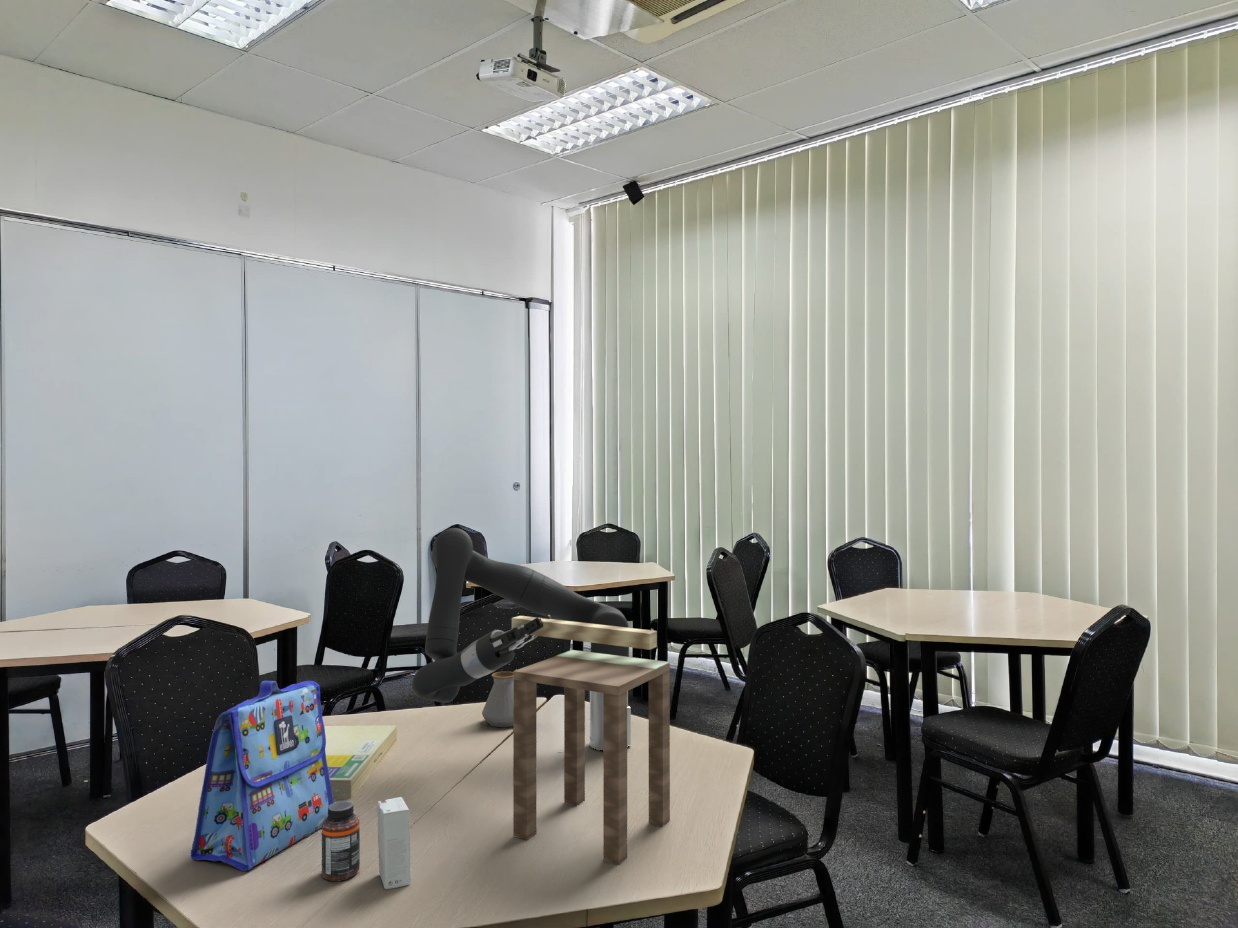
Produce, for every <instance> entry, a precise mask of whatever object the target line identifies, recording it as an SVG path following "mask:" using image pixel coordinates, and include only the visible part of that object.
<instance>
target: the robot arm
mask: <svg viewBox="0 0 1238 928" xmlns="http://www.w3.org/2000/svg"><path fill="white" fill-rule="evenodd" d="M431 561H432V563H433V565H434V567H435V568H436V579H435V587H434V593H433V597H432V602H431V607H430V612H429V616H428V621H427V622H428V623H427V630H426V637H425V644H424V653H425V654H426V656H428V657H429V658H430V659H432V660H434V661H431V662H429V663H426V664H424V665H423V666H422V667H420V668H419V669H418V670H417V671H416V672H415V674H414V676H413V677H412V680H411V681H412V682H411V689H412V691H413V694H415V696H416V697H418V698H421V699H423V700H428V701H433V702H438V703H443V704H445V703H446V704H447V703H451V702H452V701H454V699H455V698H456V697H457V696H458V693H459V691H460V689H461V687H464V686H465V687H466V686H467V685H469V684H472V683H474V682H475V681H477V680H478V679H480V678H483V677H485V676H487V675H489V674H491V673H492V674H493V673H495V671H497V670H498V669H500V668H503V667H504V666H506V665H507V664H509V663H511V662H512V661H513V660H514V659H515V655H516V652H515V651H516V650H517V649H520V648H522V647H524V646H525V644H527V643H529V642H531V641H534V640H535V639H536V638H538V637H539V636H536V635H529V634H532V633H534V632H535V631H537V630H539V629H541V628H542V627H543V623H542V620H541V618H545V619H554V620H563V621H572V622H581V623H590V624H599V625H608V626H617V627H626V628H630V627H629V622H628V620H627V618H626V617H625V615H624V614H623V613H622V611H621V610H620V609H618V608H616V607H614V606H610V605H609V604H604V603H602V602H599V601H596V600H593V599H590V598H588V597H585V596H583V595H581V594H578V593H577V592H575V591H573V590H572V589H570V588H569V587H567V586H565V585H564V584H562V583H560V582H558V581H557V580H555V579H552V578H551V577H549V576H547V575H545V574H543V573H541V572H538V571H537V570H534V569H533V568H531V567H528V566H524V565H520V564H515V563H509V562H502V561H498V560H494V559H491V558H489V557H487V556H484V555H483V554H481V553H479V552H477V551H475V550H474V545H473V541H472V538H471V536H470V535H469V534H468V532H466V531H465V530H463V529H462V528H459V527H451V528H446V529H444V530H443V531H441V532H440V534H439V535H438V536H437V537H436V538H435V540H434V543H433V546H432V550H431ZM464 582H468V583H471V584H473V585H477V586H479V587H481V588H483V589H485V590H487V591H489V592H490V593H493V594H494V595H496V596H499V597H500V598H503V599H505V600H507V601H508V602H510V603H512V604H515V605H516V606H519V607H521V608H522V609H525V610H528V611H529V612H532V613H534V614H536V615H541V616H542V617H539V616H538V617H536V618H535V619H534V620H532V621H530V622H529V623H527V624H524V625H521V626H520V627H514V628H512V627H511V629H509V630H507V631H503V630H500V629H493V630H491V631H490V632H489V633H486V634H485V635H483V636H481V637H480V638H478V639H477V640H475V641H472V643H470V644H469V645H468V646H467V647H465V648H464V649H462V650H461V651H459V652H458V651H457V648H458V638H459V631H460V629H459V628H460V621H461V620H460V617H461V607H462V606H461V605H462V604H461V603H462V593H463V588H464ZM590 652H593V653H601V654H609V655H617V656H625V657H630V647H624V646H616V645H608V644H600V643H592V642H590ZM628 692H629V691H627V746H628V745H632V744H631V743H632V742H631V741H632V737H631V736H632V734H631V732H632V728H631V727H632V726H631V725H632V721H631V719H632V718H631V717H632V716H631V715H632V712H631V711H632V710H631V709H632V708H631V706H630V705H629V703H628V702H629V699H628V698H629V693H628ZM589 746H590V748H592V749H593V748H594V749H593V750H595V749H596V751H600V750H603V693H600V692H593V691H589Z"/></svg>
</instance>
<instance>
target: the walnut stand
mask: <svg viewBox="0 0 1238 928" xmlns="http://www.w3.org/2000/svg"><path fill="white" fill-rule="evenodd" d="M670 666H671V665H670V661H664V660H656V659H648V658H639V657H630V656H629V657H625V656H617V655H609V654H601V653H593V652H591V651H584V650H574V649H570V650H567V651H565V652H562V653H559V654H557V655H555V656H553V657H549V658H547V659H544V660H541V661H537V662H536V663H535V662H534V663H533V664H529V665H526V666H524V667H521V668H519V669H515V670H513V672H514V705H513V726H512V727H513V738H512V739H513V744H512V745H513V746H512V747H513V748H512V750H513V755H512V756H513V762H512V765H513V768H512V769H513V770H512V771H513V775H512V777H513V779H512V781H513V786H512V787H513V792H512V793H513V801H512V802H513V805H512V806H513V807H512V808H513V811H512V812H513V815H512V817H513V818H512V820H513V823H512V824H513V825H512V827H513V833H512V834H513V836H512V837H514V838H518V839H522V840H525V841H528V840H529V839H530V838H532V837H534V836H536V835H537V695H538V694H537V693H538V692H537V691H538V690H537V684H542V685H547V686H555V687H562V688H563V689H564V690H563V692H564V693H563V694H564V695H563V696H564V699H563V701H564V707H563V710H564V712H563V714H564V715H563V717H564V720H563V726H564V728H563V729H564V730H563V731H564V734H563V740H564V741H563V742H564V744H563V745H564V746H563V747H564V749H563V753H564V755H563V758H564V759H563V761H564V762H563V763H564V765H563V768H564V771H563V772H564V773H563V775H564V776H563V786H564V787H563V789H564V790H563V794H564V795H563V799H564V800H563V801H564V802H563V803H564V804H566V803H567V805H572V806H575V807H577V805H578V806H579V805H581V804H582V803H583V801H584V802H585V801H586V691H588V692H590V691H593V692H600V693H603V751H602V752H603V759H602V760H603V777H602V778H603V792H602V793H603V796H602V797H603V804H602V805H603V807H602V808H603V810H602V811H603V814H602V817H603V829H602V830H603V835H602V836H603V846H602V847H603V852H602V853H603V862H606V863H611V864H615V865H620V864H621V863H623V862H624V861H625V860H626V859H627V858H628V747H627V691H628V692H629V691H630V690H633V689H634V688H636V687H639V686H640V685H642V684H644V683H647V682H648V823H649V824H651V823H652V825H656V826H659V827H664V826H665V825H666V824H667V823H669V822H670V821H671V807H670V806H671V790H670V789H671V783H670V782H671V763H670V761H671V752H670V751H671V741H670V740H671V736H670V735H671V734H670V733H671V732H670V731H671V728H670V727H671V726H670V725H671V722H670V720H671V719H670V718H671V717H670V715H671V712H670V711H671V708H670V707H671V705H670V703H671V702H670V701H671V698H670V697H671V692H670V691H671V688H670V687H671V686H670V685H671V684H670V683H671V681H670V677H671V675H670V674H671V668H670ZM580 803H581V804H580ZM669 820H670V821H669Z"/></svg>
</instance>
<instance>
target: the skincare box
mask: <svg viewBox="0 0 1238 928" xmlns="http://www.w3.org/2000/svg"><path fill="white" fill-rule="evenodd" d="M377 836H378V838H377V839H378V843H377V844H378V872H379V873H378V874H379V876H380V879H381V882H382V884H383V888H384V889H385V890H391V889H396V888H401V887H405V886H408V885H411V880H412V879H411V847H410V846H411V843H410V809H409V807H408V805H407V804H406V801H404V798H403V796H399V797H393V798H389V799H383V800H379V801H377Z"/></svg>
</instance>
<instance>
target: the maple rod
mask: <svg viewBox="0 0 1238 928" xmlns="http://www.w3.org/2000/svg"><path fill="white" fill-rule="evenodd" d="M535 618H537V617H533V616H528V615H527V616H525V615H517V616H514V617H511V629H512V628H514V627H520V626H521V625H524V624H527V623H529V622H530V621H532V620H534V619H535ZM540 618H541V620H542V623H543V627H542V628H541V629H539V630H537V631H535V632H534V633H532V634H529V635H536V636H538V637H543V638H544V637H545V638H552V639H560V640H570V641H577V642H586V643H591V642H592V643H600V644H608V645H616V646H624V647H629V648H633V649H640V650H641V649H643V650H648V651H649V650H650V651H651V650H653V649H655V648H657V647H658V639H657V638H658V635H657V633H658V631H657V630H652V629H643V628H642V629H641V628H633V627H629V628H626V627H617V626H608V625H599V624H590V623H581V622H572V621H563V620H559V619H555V618H552V619H545V618H542V617H540Z"/></svg>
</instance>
